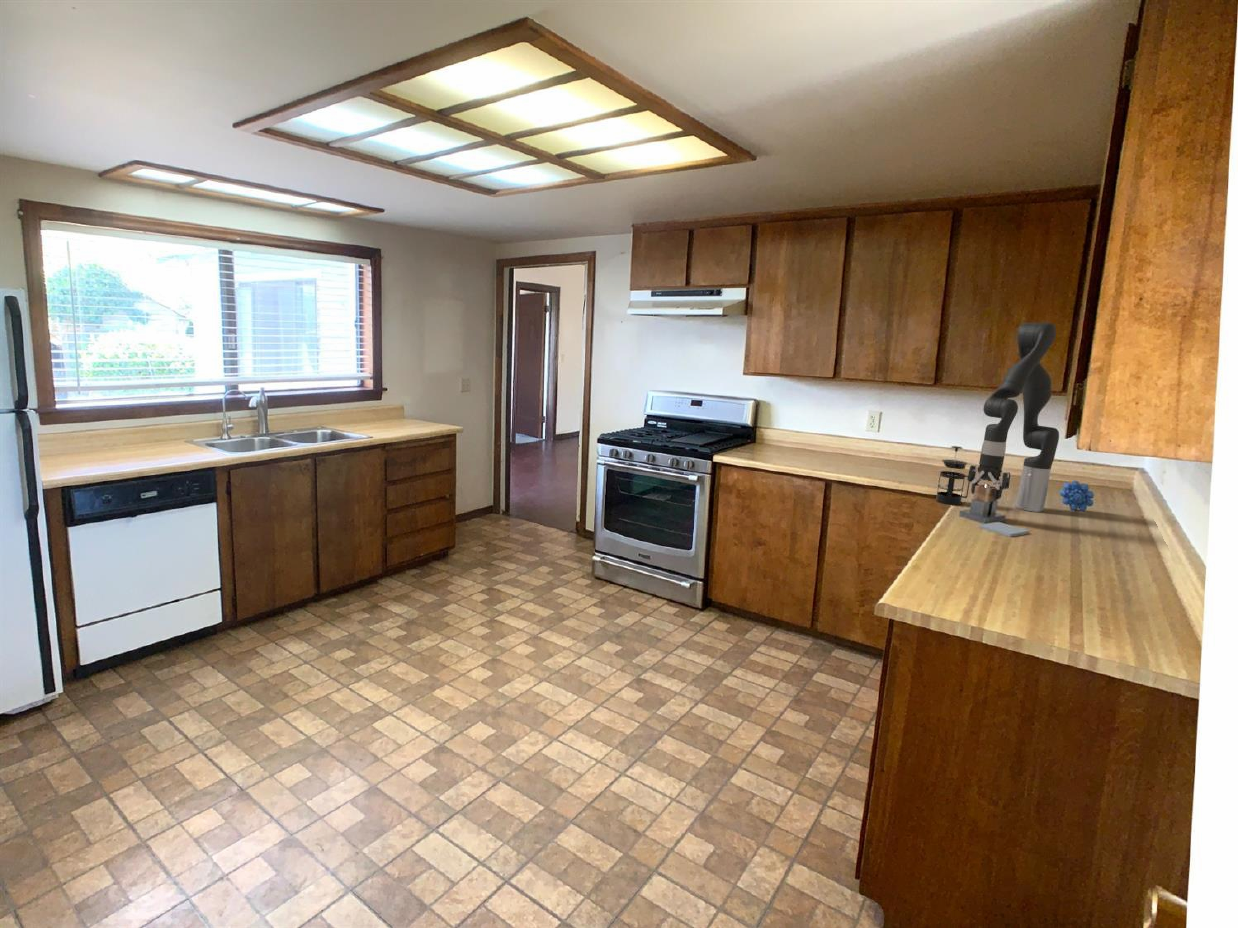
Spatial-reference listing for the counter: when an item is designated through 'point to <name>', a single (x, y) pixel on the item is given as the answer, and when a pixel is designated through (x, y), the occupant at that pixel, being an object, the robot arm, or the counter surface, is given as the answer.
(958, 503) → the french press
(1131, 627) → the counter surface
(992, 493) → the collar
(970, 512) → the grey block-shaped fixture
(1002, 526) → the mat
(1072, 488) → the grapes
